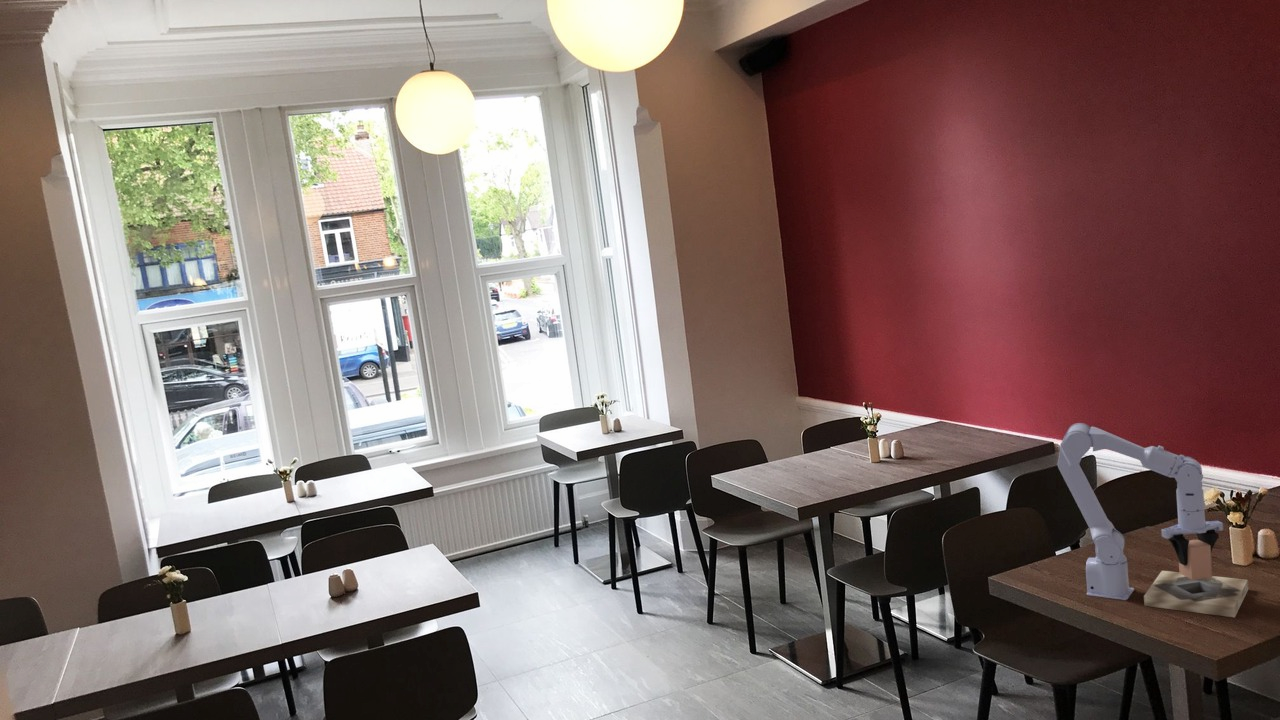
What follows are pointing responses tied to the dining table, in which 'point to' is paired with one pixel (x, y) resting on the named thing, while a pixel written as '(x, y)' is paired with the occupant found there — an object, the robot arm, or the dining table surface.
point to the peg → (1197, 561)
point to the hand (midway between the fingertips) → (1194, 562)
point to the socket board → (1197, 594)
